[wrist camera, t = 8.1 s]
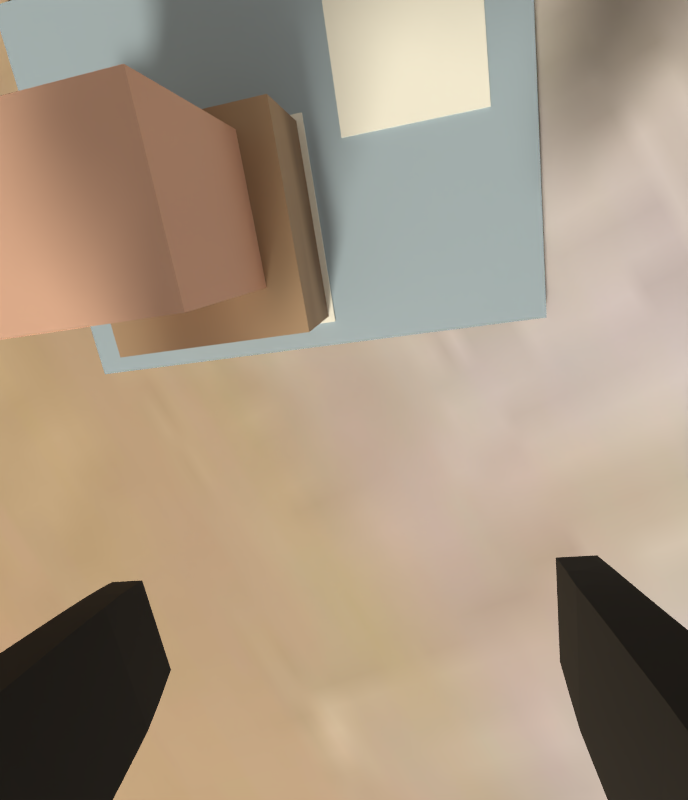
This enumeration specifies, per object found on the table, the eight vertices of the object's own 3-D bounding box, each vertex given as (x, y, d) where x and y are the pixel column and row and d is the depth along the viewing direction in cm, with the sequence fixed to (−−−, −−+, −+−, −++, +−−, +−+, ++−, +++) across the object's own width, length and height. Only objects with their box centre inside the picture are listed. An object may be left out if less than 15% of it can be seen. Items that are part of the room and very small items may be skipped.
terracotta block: (235, 129, 13) (123, 63, 8) (266, 287, 14) (185, 312, 9) (97, 159, 13) (-80, 115, 9) (137, 307, 14) (0, 340, 10)
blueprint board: (522, -141, 13) (528, -161, 12) (542, 314, 16) (547, 317, 16) (7, 14, 16) (-10, 4, 15) (114, 370, 19) (103, 375, 19)
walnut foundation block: (296, 121, 15) (267, 94, 12) (328, 316, 17) (309, 332, 14) (121, 159, 16) (57, 142, 13) (168, 338, 18) (120, 357, 15)
